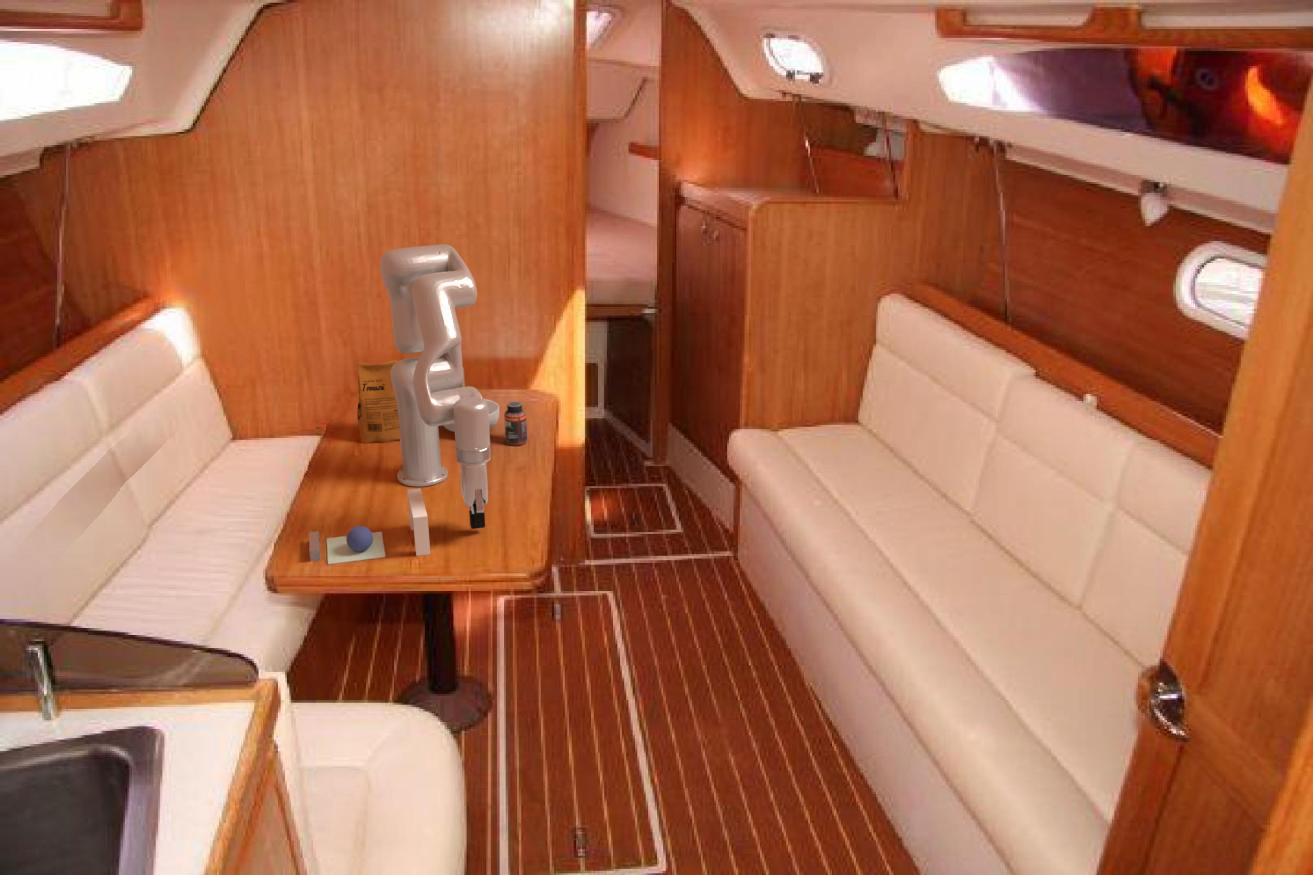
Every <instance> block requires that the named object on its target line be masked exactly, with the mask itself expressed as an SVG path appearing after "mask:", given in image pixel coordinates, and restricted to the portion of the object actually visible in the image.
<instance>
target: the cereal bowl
mask: <svg viewBox="0 0 1313 875" xmlns="http://www.w3.org/2000/svg"><path fill="white" fill-rule="evenodd" d="M482 399H483V400H485V401H486V402H487V404H488V411H489V430H490V429H491V428H493V427H494V426H495V425H496V424H497V422H498V420H499V418H500V405H499V404H498V403H497V402H496V401H494V400H491V399H487V398H482ZM442 426H443V428H445V429H446V430H448V431H450V432H451V433H455V428H454V423H450V424H445V425H442Z"/></svg>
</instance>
